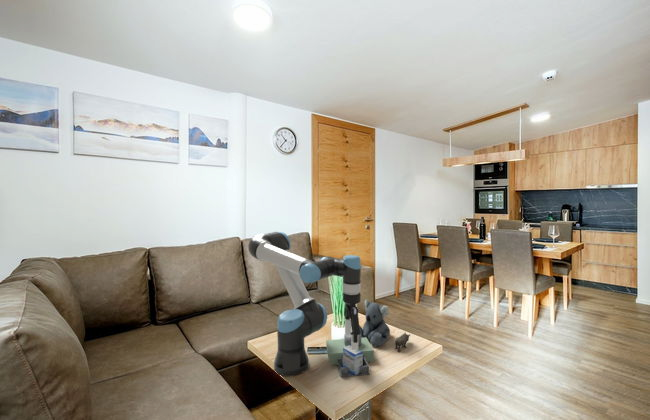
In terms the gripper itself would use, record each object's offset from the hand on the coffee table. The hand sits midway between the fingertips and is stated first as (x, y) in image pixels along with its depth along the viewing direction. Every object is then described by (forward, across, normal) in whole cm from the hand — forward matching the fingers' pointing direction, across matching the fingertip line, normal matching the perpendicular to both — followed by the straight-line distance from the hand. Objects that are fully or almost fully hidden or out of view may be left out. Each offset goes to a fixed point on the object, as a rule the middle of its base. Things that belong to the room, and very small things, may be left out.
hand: (351, 341), depth 126 cm
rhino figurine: (+12, +16, -30) cm, 36 cm away
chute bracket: (+12, -1, -1) cm, 12 cm away
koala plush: (+13, +27, -19) cm, 36 cm away
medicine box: (+12, -1, 0) cm, 12 cm away
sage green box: (+12, +11, -2) cm, 17 cm away
